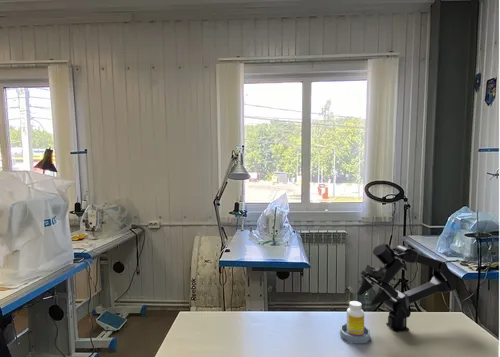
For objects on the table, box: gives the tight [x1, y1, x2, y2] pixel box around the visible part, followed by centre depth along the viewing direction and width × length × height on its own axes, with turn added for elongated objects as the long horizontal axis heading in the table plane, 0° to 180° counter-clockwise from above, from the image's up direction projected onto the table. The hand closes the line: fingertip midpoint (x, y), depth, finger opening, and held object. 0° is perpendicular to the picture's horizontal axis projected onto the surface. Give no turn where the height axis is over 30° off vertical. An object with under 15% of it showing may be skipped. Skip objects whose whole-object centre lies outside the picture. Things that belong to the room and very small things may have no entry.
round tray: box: [339, 322, 371, 345], centre depth 131 cm, size 11×11×2 cm
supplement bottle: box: [346, 300, 365, 337], centre depth 131 cm, size 7×7×13 cm
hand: (365, 299), depth 133 cm, fingers open, 9 cm apart
